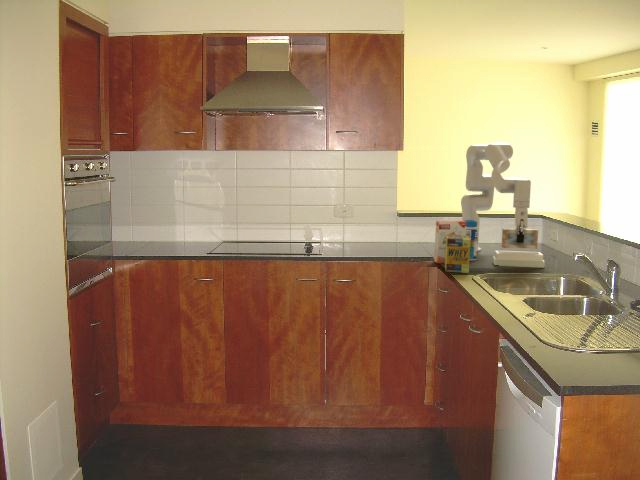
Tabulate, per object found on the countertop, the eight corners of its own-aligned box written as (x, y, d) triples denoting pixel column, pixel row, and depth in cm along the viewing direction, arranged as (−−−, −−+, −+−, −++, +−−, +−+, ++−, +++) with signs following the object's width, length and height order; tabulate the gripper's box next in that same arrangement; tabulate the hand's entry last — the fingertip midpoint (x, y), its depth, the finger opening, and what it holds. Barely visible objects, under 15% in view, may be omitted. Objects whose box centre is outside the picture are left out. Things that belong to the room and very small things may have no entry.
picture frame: (503, 247, 295) (504, 229, 293) (501, 246, 299) (502, 228, 298) (537, 248, 293) (538, 230, 292) (534, 247, 297) (535, 229, 296)
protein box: (445, 272, 277) (447, 238, 275) (444, 266, 292) (445, 234, 290) (469, 273, 275) (470, 239, 273) (467, 267, 290) (468, 235, 288)
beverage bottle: (457, 258, 314) (458, 220, 311) (470, 257, 317) (472, 219, 314) (466, 261, 306) (468, 221, 303) (480, 260, 309) (482, 221, 306)
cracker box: (437, 263, 298) (438, 221, 295) (433, 261, 304) (435, 220, 301) (465, 263, 299) (466, 221, 296) (460, 261, 305) (462, 220, 302)
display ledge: (494, 265, 295) (495, 253, 294) (492, 262, 304) (493, 250, 303) (544, 267, 290) (545, 255, 289) (540, 264, 300) (541, 252, 299)
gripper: (532, 206, 284) (530, 244, 287) (526, 203, 301) (525, 239, 303) (515, 205, 286) (513, 244, 288) (511, 203, 302) (509, 239, 305)
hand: (519, 241), depth 296 cm, fingers closed on picture frame, 4 cm apart
